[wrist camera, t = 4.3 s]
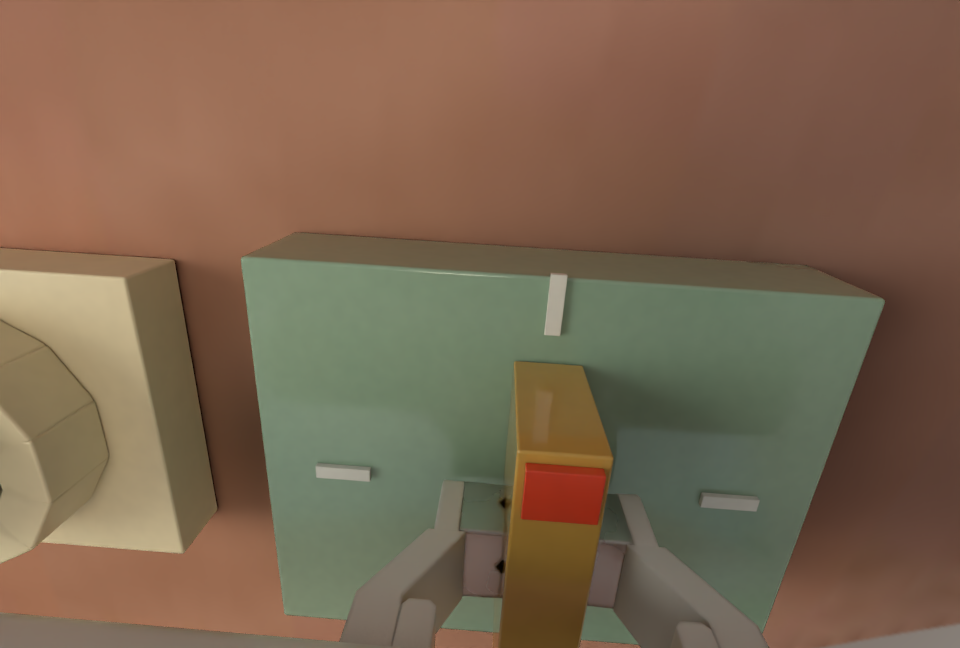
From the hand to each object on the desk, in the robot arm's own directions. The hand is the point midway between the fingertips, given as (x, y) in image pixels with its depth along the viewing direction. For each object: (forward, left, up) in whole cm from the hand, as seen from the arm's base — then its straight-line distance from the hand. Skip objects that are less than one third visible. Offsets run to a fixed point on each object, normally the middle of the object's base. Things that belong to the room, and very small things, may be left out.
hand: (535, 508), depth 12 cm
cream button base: (+16, 0, -4) cm, 16 cm away
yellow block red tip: (0, 0, -1) cm, 1 cm away
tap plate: (0, 0, -4) cm, 4 cm away
